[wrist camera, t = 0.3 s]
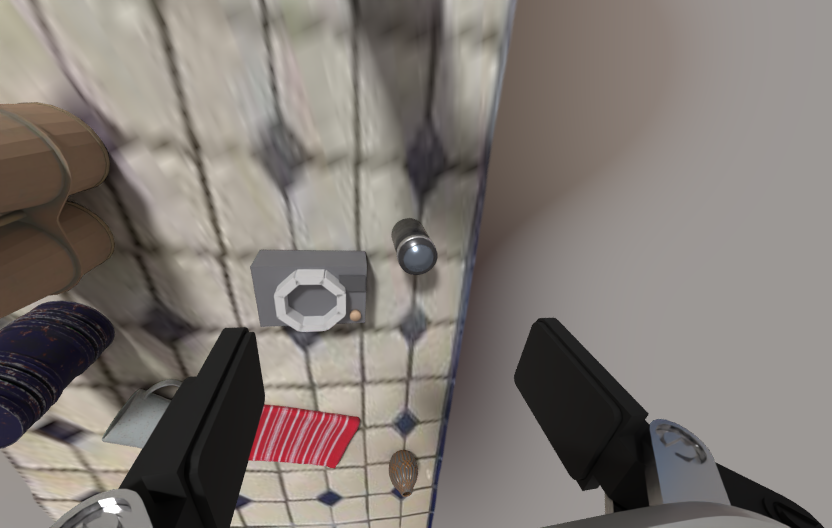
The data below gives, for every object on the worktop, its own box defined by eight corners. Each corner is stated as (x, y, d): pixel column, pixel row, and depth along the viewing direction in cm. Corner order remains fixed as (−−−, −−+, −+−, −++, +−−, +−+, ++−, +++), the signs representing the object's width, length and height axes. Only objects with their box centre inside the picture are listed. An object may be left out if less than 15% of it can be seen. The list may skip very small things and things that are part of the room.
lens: (392, 217, 45) (400, 239, 38) (427, 218, 46) (441, 240, 39) (389, 249, 47) (396, 276, 40) (422, 250, 49) (435, 276, 42)
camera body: (260, 249, 43) (245, 274, 37) (365, 251, 47) (367, 273, 41) (268, 306, 48) (256, 336, 42) (363, 303, 51) (365, 331, 45)
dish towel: (335, 459, 72) (335, 471, 70) (226, 451, 63) (221, 464, 61) (362, 413, 66) (363, 425, 64) (246, 398, 57) (241, 410, 55)
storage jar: (123, 352, 47) (39, 448, 34) (43, 353, 45) (-80, 457, 32) (105, 300, 43) (0, 389, 30) (14, 298, 40) (-142, 393, 27)
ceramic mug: (172, 420, 56) (149, 464, 49) (122, 405, 52) (90, 450, 45) (205, 387, 54) (185, 427, 47) (155, 368, 50) (126, 409, 43)
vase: (390, 447, 73) (394, 487, 66) (417, 445, 75) (424, 484, 68) (385, 463, 76) (389, 503, 69) (411, 461, 78) (417, 500, 71)
